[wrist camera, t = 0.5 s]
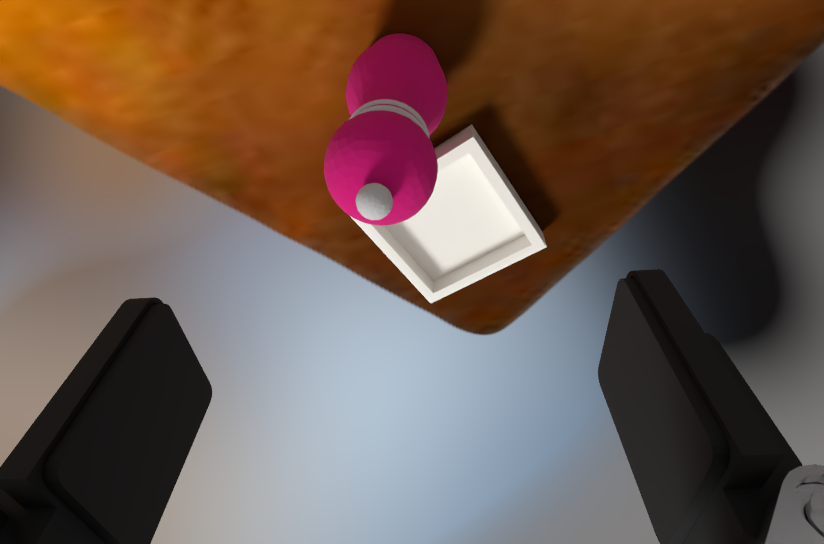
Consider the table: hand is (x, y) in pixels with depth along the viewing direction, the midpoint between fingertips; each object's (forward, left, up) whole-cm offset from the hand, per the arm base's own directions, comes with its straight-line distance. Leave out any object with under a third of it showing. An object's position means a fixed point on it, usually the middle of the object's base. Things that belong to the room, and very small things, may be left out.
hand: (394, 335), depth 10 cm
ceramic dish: (+8, +15, -32) cm, 36 cm away
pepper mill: (+4, +2, -32) cm, 32 cm away
